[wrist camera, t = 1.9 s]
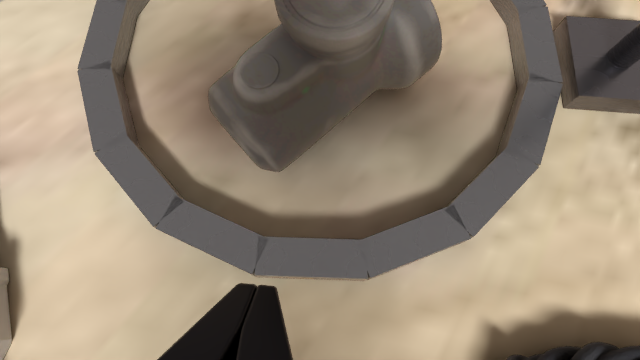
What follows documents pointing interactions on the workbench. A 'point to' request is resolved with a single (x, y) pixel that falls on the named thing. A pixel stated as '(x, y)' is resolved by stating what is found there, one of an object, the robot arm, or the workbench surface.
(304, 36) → the pipe fitting
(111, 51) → the ring
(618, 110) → the stand
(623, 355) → the cable
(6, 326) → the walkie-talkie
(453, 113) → the workbench surface
